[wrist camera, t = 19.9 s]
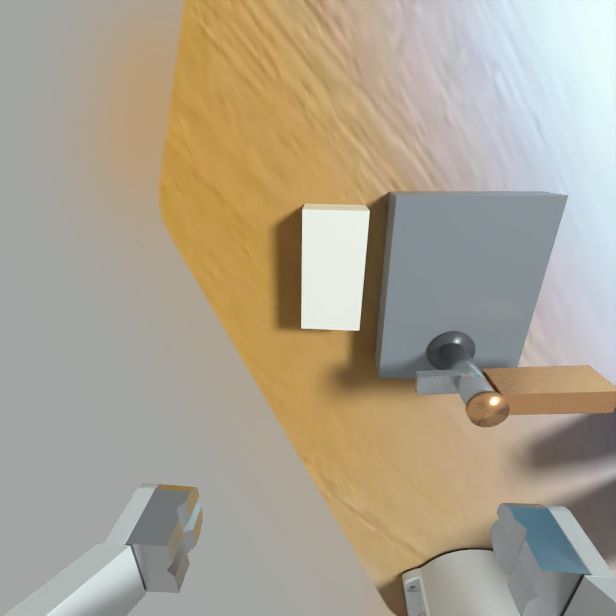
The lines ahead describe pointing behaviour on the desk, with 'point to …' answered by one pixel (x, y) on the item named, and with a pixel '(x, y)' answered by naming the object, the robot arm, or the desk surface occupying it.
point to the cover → (333, 265)
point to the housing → (462, 276)
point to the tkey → (516, 388)
